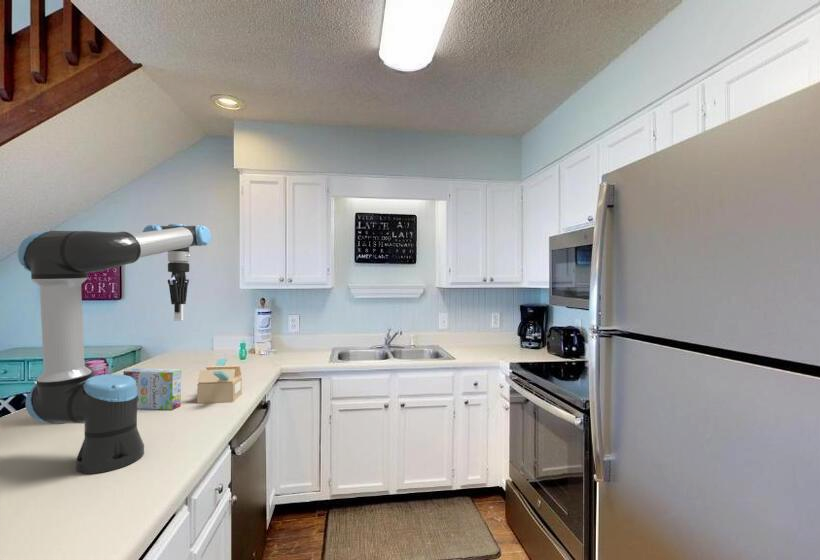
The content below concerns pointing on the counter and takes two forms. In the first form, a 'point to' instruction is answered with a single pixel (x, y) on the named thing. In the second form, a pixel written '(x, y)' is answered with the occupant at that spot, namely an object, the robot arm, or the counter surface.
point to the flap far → (225, 367)
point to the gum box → (98, 366)
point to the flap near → (216, 376)
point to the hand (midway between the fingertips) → (178, 320)
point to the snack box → (157, 388)
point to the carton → (220, 391)
